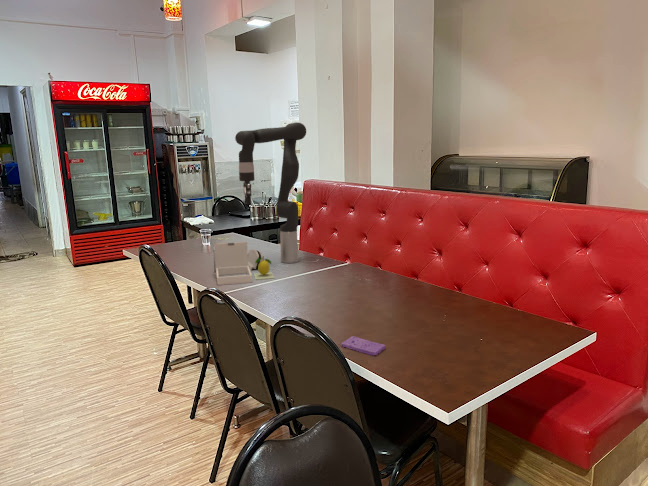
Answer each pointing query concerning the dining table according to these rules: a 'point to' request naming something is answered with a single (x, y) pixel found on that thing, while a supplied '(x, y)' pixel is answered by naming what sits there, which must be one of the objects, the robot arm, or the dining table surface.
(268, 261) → the lemon
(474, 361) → the dining table surface
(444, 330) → the dining table surface
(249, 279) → the case
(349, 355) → the dining table surface
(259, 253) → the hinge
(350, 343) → the sponges
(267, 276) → the mat
